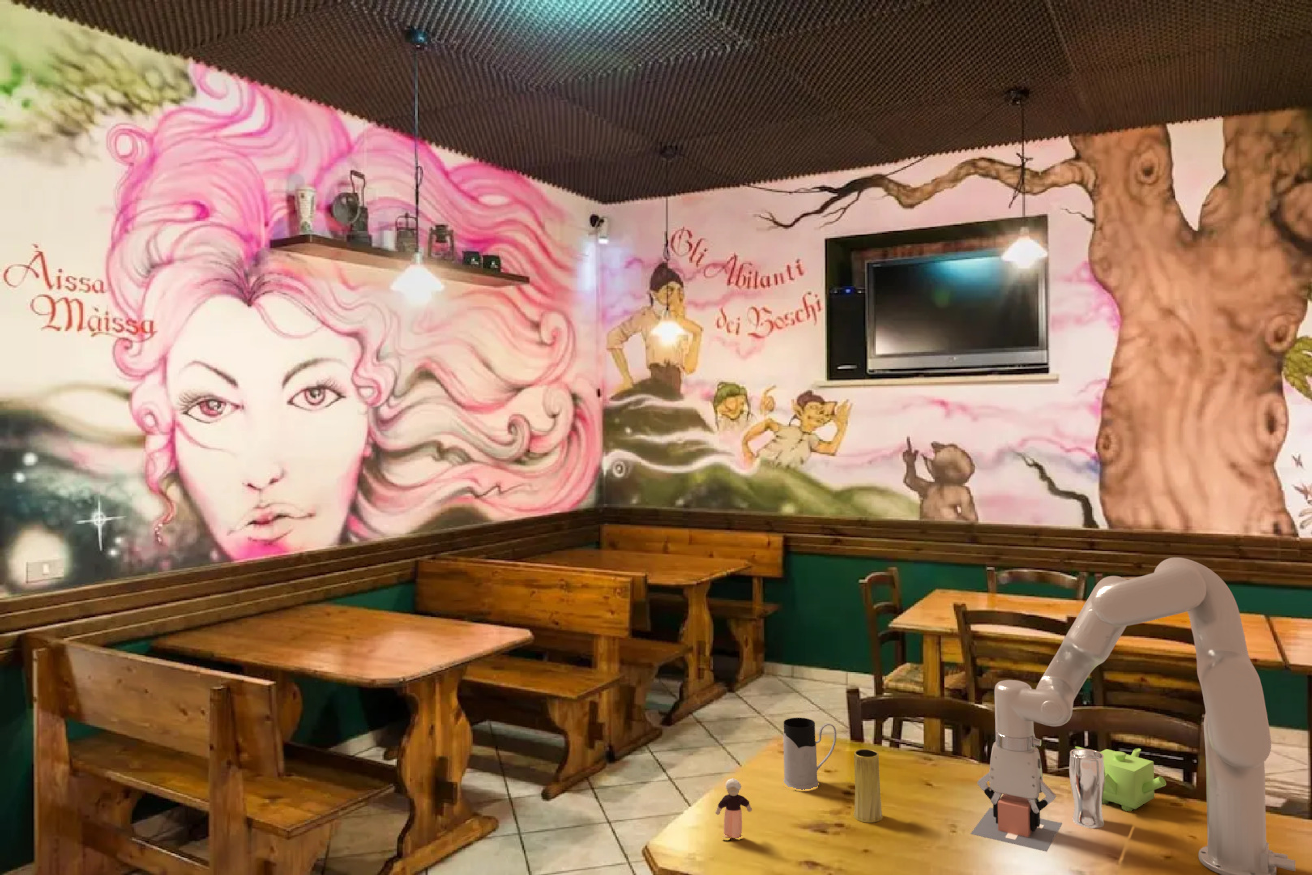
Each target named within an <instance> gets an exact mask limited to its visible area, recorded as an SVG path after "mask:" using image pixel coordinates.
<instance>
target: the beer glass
mask: <svg viewBox="0 0 1312 875" xmlns="http://www.w3.org/2000/svg"><path fill="white" fill-rule="evenodd" d="M1100 752H1101V751H1097V750H1093V749H1090V748H1084V749H1076V748H1074V749H1071V750H1070V751H1069V764H1068V765H1069V768H1068V772H1069V783H1070V788H1071V792H1072V797H1073V804H1074V805H1073V807H1074V809H1073V816H1072V821H1073V823H1074V824H1076V826H1077V825H1078V826H1080V827H1083V828H1087V829H1099V828H1103V827H1104V825H1105V822H1104V816H1103V808H1102V807H1103V804H1102V800H1103V795H1104V789H1105V764H1104V755H1103V754H1102V753H1100Z"/></svg>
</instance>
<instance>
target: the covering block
mask: <svg viewBox="0 0 1312 875" xmlns="http://www.w3.org/2000/svg"><path fill="white" fill-rule="evenodd" d="M1031 811H1032V808H1031V805H1030V803H1029V801H1028V799H1026V798H1021V797H1016V796H1011V795H1006V794H1002V795H1001V797H1000V800H999V801H998V830H999V831H1003V832H1007V833H1012V834H1016V835H1021V836H1025V837H1029V835H1030V834H1031V832H1032V831H1031V828H1030V812H1031Z"/></svg>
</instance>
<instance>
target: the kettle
mask: <svg viewBox="0 0 1312 875" xmlns="http://www.w3.org/2000/svg"><path fill="white" fill-rule="evenodd" d="M1074 749H1085V748H1084V747H1082V746H1081V747H1080V746H1074ZM1099 752H1100V753H1102V754H1103V755H1104V764H1105V789H1104V795H1103V800H1102V805H1107V804H1109V802H1111V803H1113V804H1118V805H1121V810H1122V809H1123V810H1122V811H1124V810H1125V811H1124V812H1127V811H1132V810H1133V811H1134V810H1137V809H1138V808H1139V807H1141V806H1143V804H1144V805H1145V804H1147V803H1149V802H1150V801H1152V800H1153V799H1155V790H1157V789H1161V788H1163V787H1165V786H1167V782H1166V779H1164V778H1163V776H1160V775H1159V776H1157V777H1155V770H1154V769H1155V768H1154V766H1155V765H1154V763H1155V762H1154V761H1153V760H1149V759H1145V758H1142V757H1139V756H1140V753H1141V752H1142V749H1141V748H1134V749H1133V750H1132V753H1131V754H1127V753H1126V752H1124V751H1115V750H1112V749H1107V748H1106V749H1104V750H1102V751H1099ZM1133 811H1132V812H1133Z"/></svg>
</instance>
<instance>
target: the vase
mask: <svg viewBox="0 0 1312 875" xmlns="http://www.w3.org/2000/svg"><path fill="white" fill-rule="evenodd" d="M853 753H854V754H853V761H854V763H853V765H854V790H855V791H854V812H853V816H854V818H855V819H856V820H857V821H859V822H862V823H868V824H871V823H872V824H873V823H878V822H881V820H882V819H883V813H882V800H881V798H882V797H881V782H880V780H881V779H880V778H881V777H880V761H879V760H880V759H879V754H880V753H879V752H878V751H876V750H875V749H871V748H859V749H856V750H855V751H854V752H853Z"/></svg>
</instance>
